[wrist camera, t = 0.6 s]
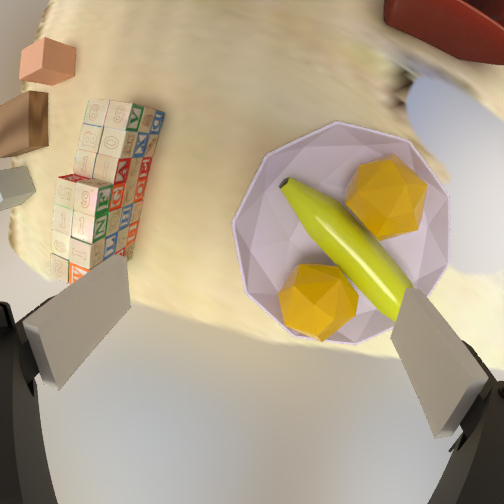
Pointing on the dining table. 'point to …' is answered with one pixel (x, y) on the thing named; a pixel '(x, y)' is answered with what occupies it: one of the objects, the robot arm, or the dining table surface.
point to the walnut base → (24, 124)
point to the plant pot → (453, 26)
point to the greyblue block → (15, 187)
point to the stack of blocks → (103, 188)
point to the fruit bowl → (341, 233)
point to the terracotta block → (47, 62)
